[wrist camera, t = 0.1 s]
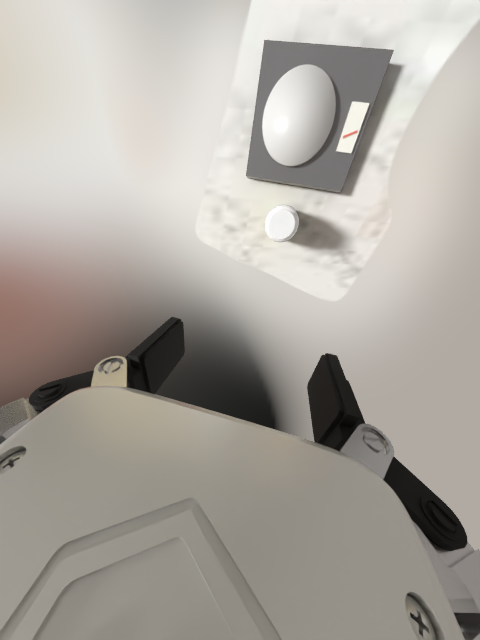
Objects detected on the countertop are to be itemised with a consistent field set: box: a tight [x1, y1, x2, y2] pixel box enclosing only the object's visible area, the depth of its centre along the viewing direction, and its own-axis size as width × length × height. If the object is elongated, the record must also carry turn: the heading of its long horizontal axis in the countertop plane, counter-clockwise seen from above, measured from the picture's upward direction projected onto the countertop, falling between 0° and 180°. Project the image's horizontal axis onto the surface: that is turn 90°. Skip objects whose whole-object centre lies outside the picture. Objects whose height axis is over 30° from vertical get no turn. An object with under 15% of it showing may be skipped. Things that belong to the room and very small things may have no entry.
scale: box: [246, 40, 394, 193], centre depth 26 cm, size 14×16×3 cm
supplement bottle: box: [265, 205, 299, 242], centre depth 30 cm, size 5×5×10 cm
